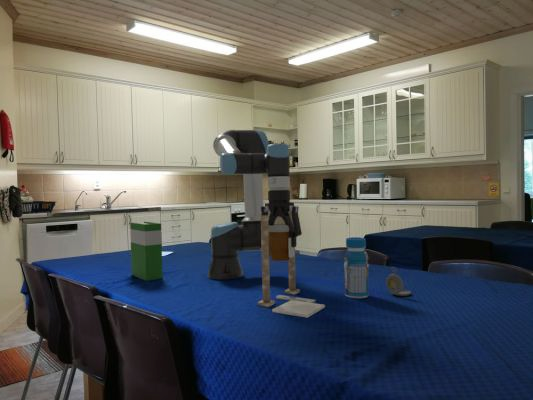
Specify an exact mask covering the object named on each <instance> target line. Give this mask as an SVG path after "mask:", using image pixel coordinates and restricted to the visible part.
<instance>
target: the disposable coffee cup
mask: <svg viewBox="0 0 533 400" xmlns="http://www.w3.org/2000/svg"><path fill="white" fill-rule="evenodd" d="M268 227H269V248H270V260H271V261H273V262H286V261H287V262H288V260H290V257H289V245H288V238H290V234H289V230H290V229H289V227H288V225H286V224H285V223H274V225H272V226H270V225H268Z"/></svg>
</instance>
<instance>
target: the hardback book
mask: <svg viewBox="0 0 533 400" xmlns="http://www.w3.org/2000/svg"><path fill="white" fill-rule="evenodd" d="M129 228H130V230H129V232H130V260H131V261H130V262H131V265H130V266H131V276H133V275H134V276H133V277H135V278H138V279H140V280H143V281H145V282H148V281H155V280H160V279H164V278H163V276H164V275H163V244H162V243H163V240H162V222H153V221H143V223H138V222H129Z"/></svg>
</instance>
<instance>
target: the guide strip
mask: <svg viewBox="0 0 533 400" xmlns="http://www.w3.org/2000/svg"><path fill="white" fill-rule="evenodd" d="M275 298H276V299H277V300H282V301H283V300H284V301H290V300H294V301H301V302H308V303H316V301H317V299H311V298H304V297H297V296H289V295H282V294H277V295H276V296H275Z"/></svg>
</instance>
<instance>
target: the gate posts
mask: <svg viewBox="0 0 533 400" xmlns="http://www.w3.org/2000/svg"><path fill="white" fill-rule="evenodd" d="M289 215H290V219H291V222H292V224H293V220H292V214H291V211H290V212H289ZM268 220H269V214H268V215H262V216H261V244H262V250H261V274H262V275H261V276H262V277H261V278H262V280H261V282H262V283H261V286H262V300H259V301H257V305H258V306H260V307H261V306H262V307H265V308H266V307H268V308H269V307H272V306H273V305H275V304H276V300H272V299H271V288H270V287H271V285H270V284H271V283H270V282H271V280H270V279H271V278H270V273H271V272H270V256H269V227H268ZM294 248H295V249H296V247H294ZM287 262H288V288H287V289H285V290H284V294H287V295H297V294H298V293H301V289H300V288H296V287H297V286H296V255H295V256H294V257H290V260H288V261H287Z"/></svg>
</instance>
